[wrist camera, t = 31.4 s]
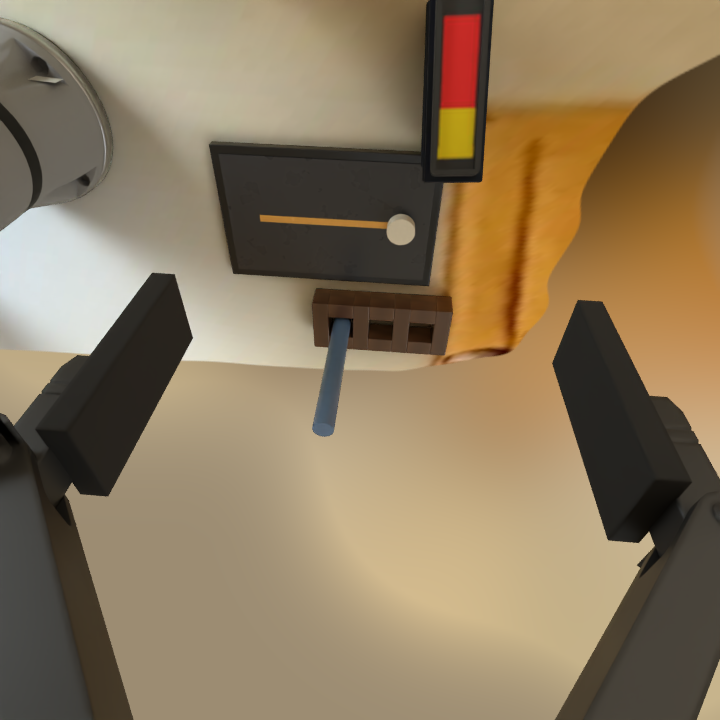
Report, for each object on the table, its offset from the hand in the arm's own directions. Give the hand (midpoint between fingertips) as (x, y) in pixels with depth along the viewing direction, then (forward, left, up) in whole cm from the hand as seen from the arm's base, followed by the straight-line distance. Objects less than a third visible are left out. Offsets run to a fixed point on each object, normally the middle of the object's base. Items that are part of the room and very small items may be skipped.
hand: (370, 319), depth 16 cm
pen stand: (0, -25, -33) cm, 41 cm away
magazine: (+4, +1, -33) cm, 33 cm away
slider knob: (+1, -12, -32) cm, 34 cm away
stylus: (-5, -25, -33) cm, 41 cm away
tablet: (-6, -13, -33) cm, 36 cm away
